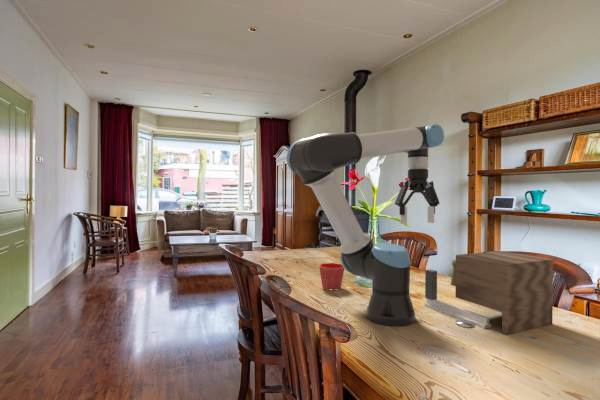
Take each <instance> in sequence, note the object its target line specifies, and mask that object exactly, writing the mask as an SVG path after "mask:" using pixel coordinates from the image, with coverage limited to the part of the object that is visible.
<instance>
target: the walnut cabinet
mask: <svg viewBox="0 0 600 400" xmlns="http://www.w3.org/2000/svg"><path fill="white" fill-rule="evenodd" d="M455 260H456V286H455V299H456V298H457V299H459V300H462V301H466V302H469V303H472V304H475V305H478V306H481V307H484V308H488V309H490V310H493V311H496V312H500V313H501V334H502V335H506V336H508V335H513V334H517V333H521V332H524V331H530V330H533V329H538V328H542V327H546V326H550V325H553V310H554V309H553V302H554V300H553V296H554V295H553V293H554V292H553V291H554V288H553V287H554V286H553V285H554V259H552V258H546V257H540V256H535V255H527V254H521V253H513V252H508V251H503V250H502V251H501V250H495V251H485V252H476V253H475V252H474V253H464V254H455Z"/></svg>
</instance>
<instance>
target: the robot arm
mask: <svg viewBox="0 0 600 400" xmlns="http://www.w3.org/2000/svg"><path fill="white" fill-rule="evenodd" d="M444 139H445V131H444V129H443V127H442V126H441V125H439V124H436V123H434V124H428V125H422V126H417V127H408V128H407V127H406V128H402V129H401V128H400V129H399V128H398V129H394V130H384V131H377V132H369V133H368V132H367V133H362V134H357V133H356V132H354V131H353V132H351V131H350V132H340V133H337V132H336V133H330V132H329V133H327V132H326V133H319V134H315V135H312V136H308V137H304V138H301V139H298V140H296V141H294V142H293V143H292V144H291V145H290V146H289V148H288V150H287V153H286V164H287V167H288V169H290V171H291V172H292V173H293V174H295V175H298V176H299V177H300V180H301V181H302V182H303V184H304V186H308V187H310V188H311V190H312V192H313V193H314V195H315V197H316V199H317V202H318V203H319V205H320V206H321V209H322V210H323V212H324V214H325V216H326V217H327V219H328V221H329V223H330V225H331V227H332V229H333V231H334V233H335V234H336V236H337V238H338V240H339V241H340V244H341V245H340V246H339V251H340V264H342V265H343V267H344V270H345V271H347V272H348V273H350V274H351V275H354V276H356V277H357V276H359V277H360V278H364V279H367V280H370V281H371V282H372V284H371V287H372V290H371V292H372V293H371V297H370V299H369V302H368V306H367V308H366V318H367V319H368V320H370V322H371V321H372V322H373V323H377V324H380V325H384V326H392V327H402V326H409V325H411V324H413V323H414V322H416V313H415V310H414V306H413V303H412V300H411V296H410V282H411V281H410V280H411V279H410V278H411V277H410V275H411V260H410V251H409V250H408V249H407V248H406V247H404V246H402V245H399V244H396V243H389V242H378V243H374V241H373V240H372V238H371V236H370V235H369V233H365V232H364V231H363V229H362V227H361V225H360V224H359V222H358V220H357V217H356V216H355V214H354V212H353V210H352V208H351V206H350V204H349V202H348V201H347V200H348V199H347V198H346V196H345V195H344V192H343V190H342V188H341V187H340V185H339V182H338V179H336V177H335V171H336V170H338V169H340V168H344V167H346V166H351V165H357V164H358V163H359V162H361V160H366V159H371V158H376V157H382V156H387V155H394V154H399V153H407V168H408V169H407V179H408V180H402V181H401V187H400V190H399V192H398V194H397V197H396V199H395V202H394V204H395V205H396V206H397V207H398V208H399V216H400V225H401V224H402V225H407V224H408V206H406V205H407V204H408V202H409V201H410V200H411V198H412V196H413V195H414V194H415V193H418V194H419V193H420V194H421V195H423V198H424V199H425V200H426V202H427V204H428V206H427V223H429V224H430V223H431V224H434V223H435V214H436V207H438V206H439V205H440V200H439V197H438V195H437V192H436V189H435V186H434V181H433V180H431V181H429V180H427V179H428V178H429V169H428V168H429V149H431V148H435V147H439V146H441V145H442V144H443V142H444Z"/></svg>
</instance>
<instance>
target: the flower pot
mask: <svg viewBox="0 0 600 400" xmlns="http://www.w3.org/2000/svg"><path fill="white" fill-rule="evenodd" d="M344 272H345V268H344V267H343V265H342V263H335V262H331V263H330V262H328V263H327V262H326V263H321V264H319V273H320V280H321V284H322V285H321V286H322V289H324V288H325V289H324V290H326V289H332V290H331V291H335V290H334V289H339V290H341V288H342V284H343V278H344Z"/></svg>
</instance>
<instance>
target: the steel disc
mask: <svg viewBox="0 0 600 400" xmlns="http://www.w3.org/2000/svg"><path fill="white" fill-rule="evenodd" d="M455 325H456V326H458V327H461V328H467V329H468V328H469V329H470V328H473V327H474V325H473V322H471V321H468V320H460V319H455Z"/></svg>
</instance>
